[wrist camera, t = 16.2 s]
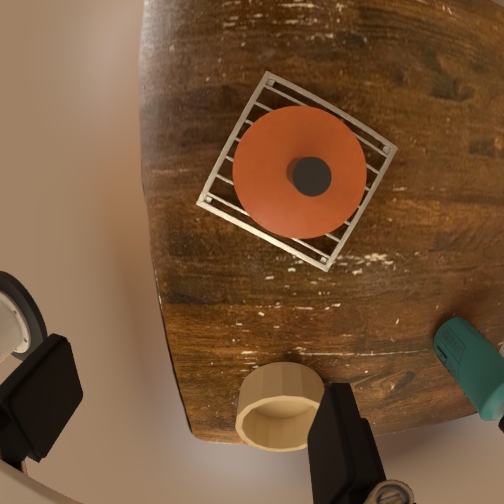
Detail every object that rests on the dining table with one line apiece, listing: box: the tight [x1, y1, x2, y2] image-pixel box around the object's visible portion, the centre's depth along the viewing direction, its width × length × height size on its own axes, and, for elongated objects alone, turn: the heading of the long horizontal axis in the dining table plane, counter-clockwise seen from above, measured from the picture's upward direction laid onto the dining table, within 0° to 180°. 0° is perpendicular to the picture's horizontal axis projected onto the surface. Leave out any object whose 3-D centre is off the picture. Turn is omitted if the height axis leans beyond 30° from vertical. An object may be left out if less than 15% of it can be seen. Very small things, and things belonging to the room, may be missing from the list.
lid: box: [233, 106, 367, 239], centre depth 24 cm, size 13×13×8 cm
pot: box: [235, 362, 325, 452], centre depth 35 cm, size 12×12×6 cm
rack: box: [196, 71, 398, 272], centre depth 29 cm, size 15×15×2 cm
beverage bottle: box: [433, 317, 504, 433], centre depth 25 cm, size 6×7×20 cm
